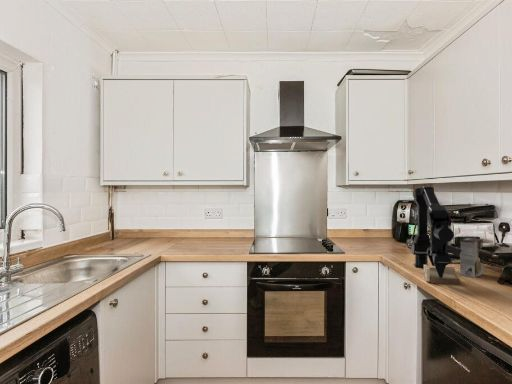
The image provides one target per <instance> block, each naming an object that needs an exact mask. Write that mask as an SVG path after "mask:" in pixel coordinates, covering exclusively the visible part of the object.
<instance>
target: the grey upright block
mask: <svg viewBox="0 0 512 384" xmlns="http://www.w3.org/2000/svg"><path fill="white" fill-rule="evenodd" d="M483 245H484V244H483V239H481V238H474V237H466V238H462V239H460V240H459V248H460V249H461V250H462V251H461V253H460V256H459V263H460V264H459V267H460V268H459V270H460V271H459V274H460V276H465V277H470V278H473V279H474V278H478V277H479V276H482V275H483V274H484V262H483V263H481V262H480V258H479V250H480V249H481V248H482V247H483Z"/></svg>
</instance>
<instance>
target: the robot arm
mask: <svg viewBox="0 0 512 384" xmlns="http://www.w3.org/2000/svg"><path fill="white" fill-rule="evenodd" d="M412 197H413V200H414V203H415V204H416V206H417V207H416V208H417V214H416V216H417V217H416V218H417V221H416V223H417V226H416V227H417V233H416V234H415V236H414V237H413V238H414V239H413V242H412V245H411V249H410V251H411V252H410V253H411V254H412V255H413V256H415V257H414V263H413V266H414V267H415V268H423V269H424V265H427V266H430V265H429V263H428V262H429V261H430V264H431V266H435V268H436V270H437V273H438V275H439V277H440V278H442V277H443V273H444V270H445V267H447V266H448V265H449V264H451V263H452V256H450V255H449V254H451V255H453V256H455V257H456V258H457V257H458V258H460V253H461V251H462V250H461V249H460V247H457V244H456V243H453V242H451V241H452V240H453V239H454V237H455V234H454V233H455V232H454V231H453V230H452V229H451V228H449V227H450V226H452V223H453V220H452V218H451V215H450V213H449V212H448V210H447V208H446V207H445V206H444V205H442V204H441V203H440V202H439V199H438V198H437V196H436V193H435V188H434V186H431V185H430V186H421V187H415V188H414V189H413V190H412ZM428 226H430V237H429V236H428ZM449 242H450V243H449ZM428 259H429V260H428Z"/></svg>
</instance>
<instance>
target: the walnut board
mask: <svg viewBox="0 0 512 384" xmlns="http://www.w3.org/2000/svg"><path fill="white" fill-rule="evenodd" d="M429 283H430V284H441V285H442V284H445V285H446V284H447V285H458V284H459V285H460V286H461V280H460V278H459V277H458V276H457V275H456V274H455V278H440V277H430V282H429Z"/></svg>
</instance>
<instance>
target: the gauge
mask: <svg viewBox="0 0 512 384" xmlns="http://www.w3.org/2000/svg"><path fill="white" fill-rule="evenodd" d="M455 275H456V268H455V267H454V266H446V267H445V270H444V273H443V277H442V278H455ZM430 277H439V275H438V273H437V270H436V268H435V266H432V265H429V266H427V265H424V268H423V278H424V280H425V281H426V282H427V283H428V282H429V283H430Z"/></svg>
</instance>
